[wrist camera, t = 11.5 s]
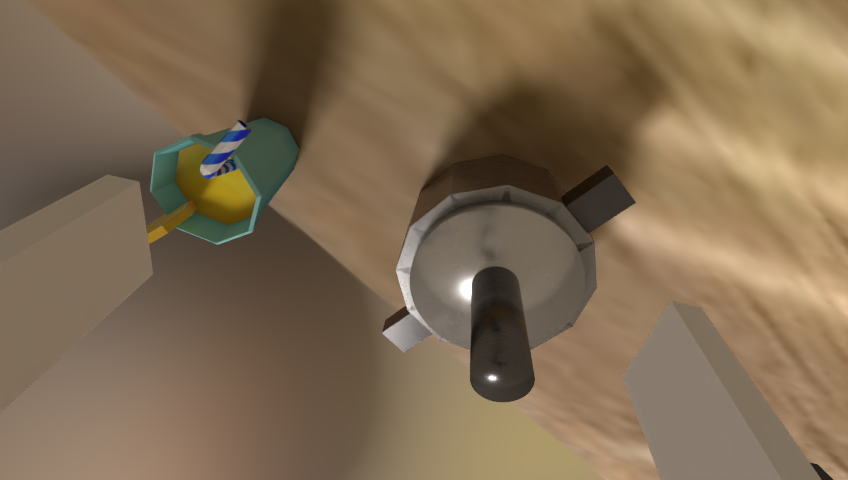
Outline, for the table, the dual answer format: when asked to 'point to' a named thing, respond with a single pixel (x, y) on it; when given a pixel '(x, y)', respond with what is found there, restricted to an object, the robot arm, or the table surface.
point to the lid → (497, 289)
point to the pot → (514, 184)
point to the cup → (221, 179)
